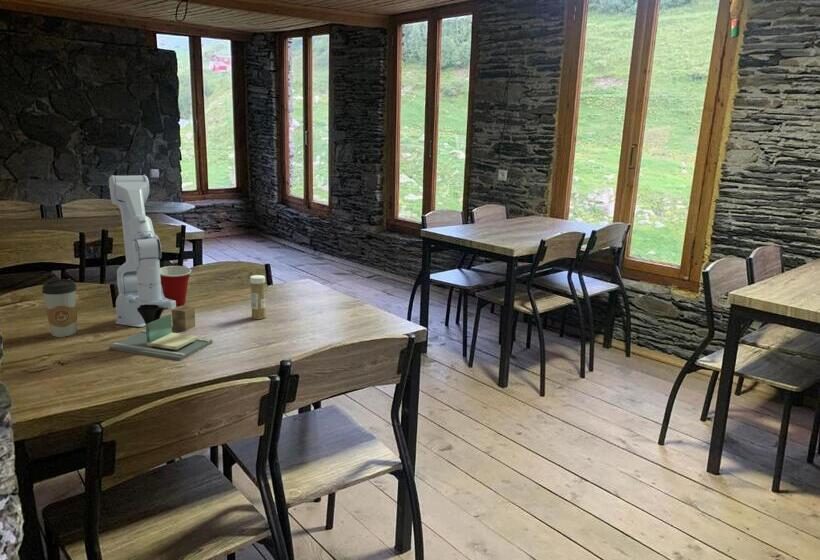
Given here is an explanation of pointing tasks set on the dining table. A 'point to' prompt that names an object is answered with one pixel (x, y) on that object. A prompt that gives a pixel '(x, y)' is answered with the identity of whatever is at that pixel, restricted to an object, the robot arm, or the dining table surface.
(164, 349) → the track board
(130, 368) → the dining table surface
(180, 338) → the sliding tray
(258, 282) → the sprinkles bottle
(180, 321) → the walnut block
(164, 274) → the plastic cup
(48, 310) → the coffee cup
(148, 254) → the robot arm
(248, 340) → the dining table surface
